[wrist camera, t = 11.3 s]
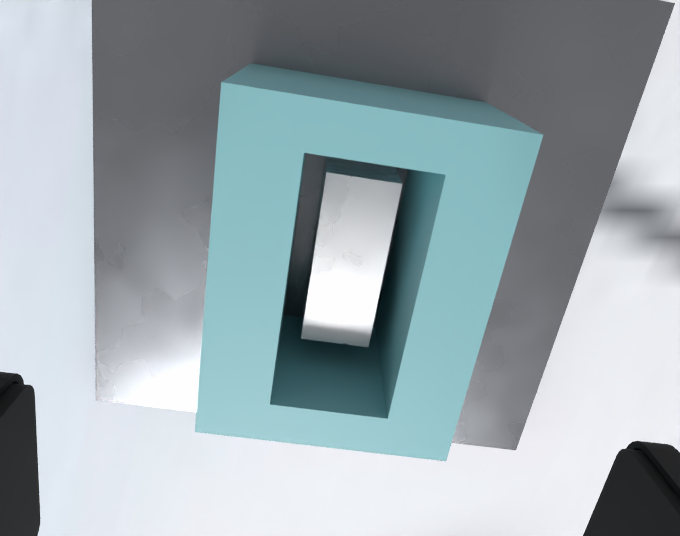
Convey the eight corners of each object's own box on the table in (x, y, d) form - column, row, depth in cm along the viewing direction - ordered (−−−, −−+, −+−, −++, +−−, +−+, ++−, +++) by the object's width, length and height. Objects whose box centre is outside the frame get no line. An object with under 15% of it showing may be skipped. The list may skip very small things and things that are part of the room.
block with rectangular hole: (251, 63, 17) (221, 81, 12) (486, 102, 17) (543, 134, 13) (225, 337, 20) (194, 432, 16) (420, 362, 21) (445, 461, 16)
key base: (507, 429, 24) (541, 510, 20) (107, 381, 22) (61, 457, 19) (652, 3, 17) (744, 1, 13) (106, -97, 16) (36, -132, 12)
